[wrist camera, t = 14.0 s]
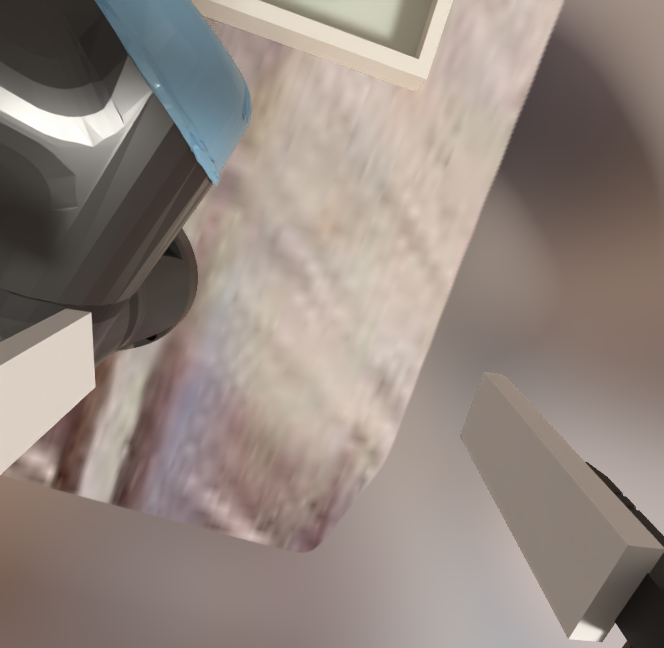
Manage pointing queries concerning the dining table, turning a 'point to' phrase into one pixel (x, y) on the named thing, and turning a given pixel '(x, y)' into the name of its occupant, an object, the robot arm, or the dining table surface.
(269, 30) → the tray
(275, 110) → the dining table surface
